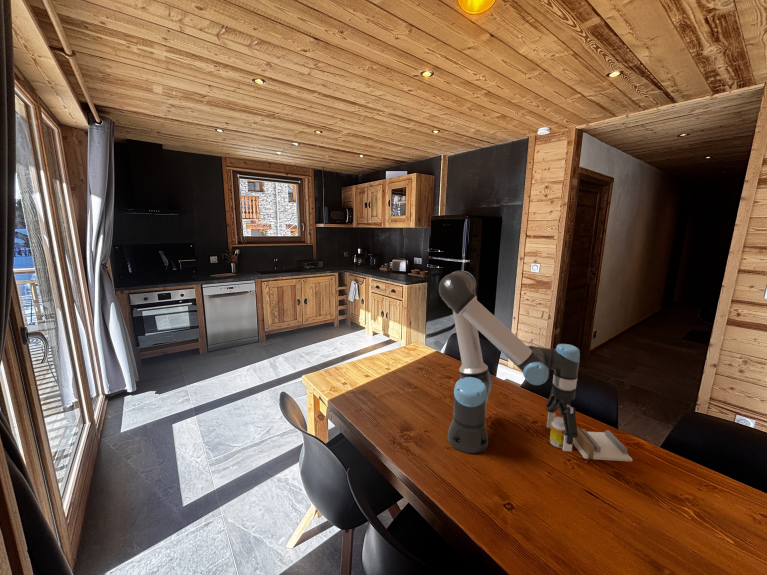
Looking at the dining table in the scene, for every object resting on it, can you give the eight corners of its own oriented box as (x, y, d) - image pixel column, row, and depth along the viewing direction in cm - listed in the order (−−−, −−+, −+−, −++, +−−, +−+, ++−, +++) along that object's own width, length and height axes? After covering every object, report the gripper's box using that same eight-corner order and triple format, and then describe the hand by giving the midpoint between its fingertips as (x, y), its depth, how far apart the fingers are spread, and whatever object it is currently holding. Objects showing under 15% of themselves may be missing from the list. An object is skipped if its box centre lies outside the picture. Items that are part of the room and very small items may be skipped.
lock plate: (584, 458, 113) (586, 446, 112) (564, 432, 128) (565, 421, 127) (632, 461, 112) (634, 448, 111) (606, 434, 126) (607, 423, 126)
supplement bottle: (561, 450, 117) (564, 425, 115) (546, 442, 122) (549, 418, 120) (568, 445, 120) (571, 420, 118) (554, 437, 125) (556, 413, 123)
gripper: (594, 404, 104) (586, 462, 108) (559, 372, 129) (553, 419, 132) (570, 403, 105) (563, 460, 108) (539, 371, 129) (535, 418, 133)
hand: (558, 438), depth 120 cm, fingers open, 13 cm apart
